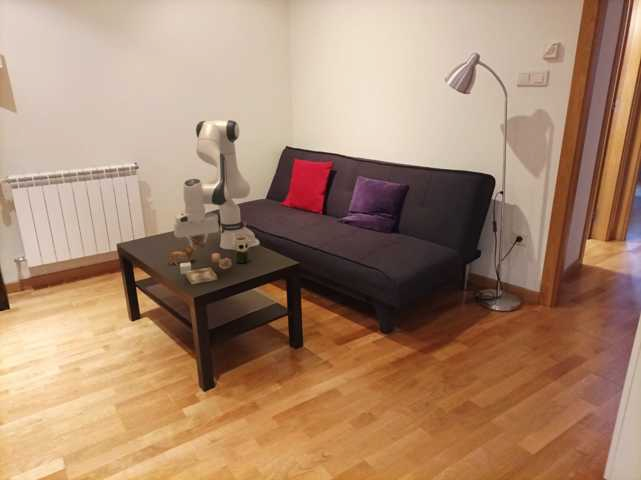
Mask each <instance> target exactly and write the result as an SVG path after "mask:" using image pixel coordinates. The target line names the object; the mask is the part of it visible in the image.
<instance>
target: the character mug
mask: <svg viewBox="0 0 641 480" xmlns="http://www.w3.org/2000/svg"><path fill="white" fill-rule="evenodd" d="M248 242H249V244H248ZM233 245H234V246H235V247H234V246H233ZM250 245H251V240H248V237H246V236H238V237H235V238H234V243H232V249H235V250H234V251H236V260H235V261H236V262H237V263H239V264H243V263H244V264H245V263H248V262H249V255H248V250H249V249H250V247H249V246H250ZM232 249H231V250H232Z"/></svg>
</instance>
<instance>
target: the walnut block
mask: <svg viewBox="0 0 641 480" xmlns="http://www.w3.org/2000/svg"><path fill="white" fill-rule="evenodd" d="M191 240H193V242H194V245H193V248H194V249H195V251H196V250H202V249H203V250H204V249H205V243H204V236H203V235H195V236H191Z"/></svg>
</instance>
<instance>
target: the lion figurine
mask: <svg viewBox="0 0 641 480" xmlns="http://www.w3.org/2000/svg"><path fill="white" fill-rule="evenodd" d="M195 253H196V250H195V249H194V248H193V245H190V244H189V245H187V248H185V249H184V250H183V251H172V252H171V254H170V256H169V261H168V263H167V265H168V266H169V265H170V264H171V265H173V264H175V266H180V264H179V263H177V260H178V258H179V259H185V263H189V262H190V258H192V257H193V256H194V255H195Z"/></svg>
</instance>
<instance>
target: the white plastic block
mask: <svg viewBox="0 0 641 480" xmlns="http://www.w3.org/2000/svg"><path fill="white" fill-rule="evenodd" d="M179 269H180V275H186V272H187V271H192V264H191V262H190V261H189V263H188V262H181V263H180V264H179Z"/></svg>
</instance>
